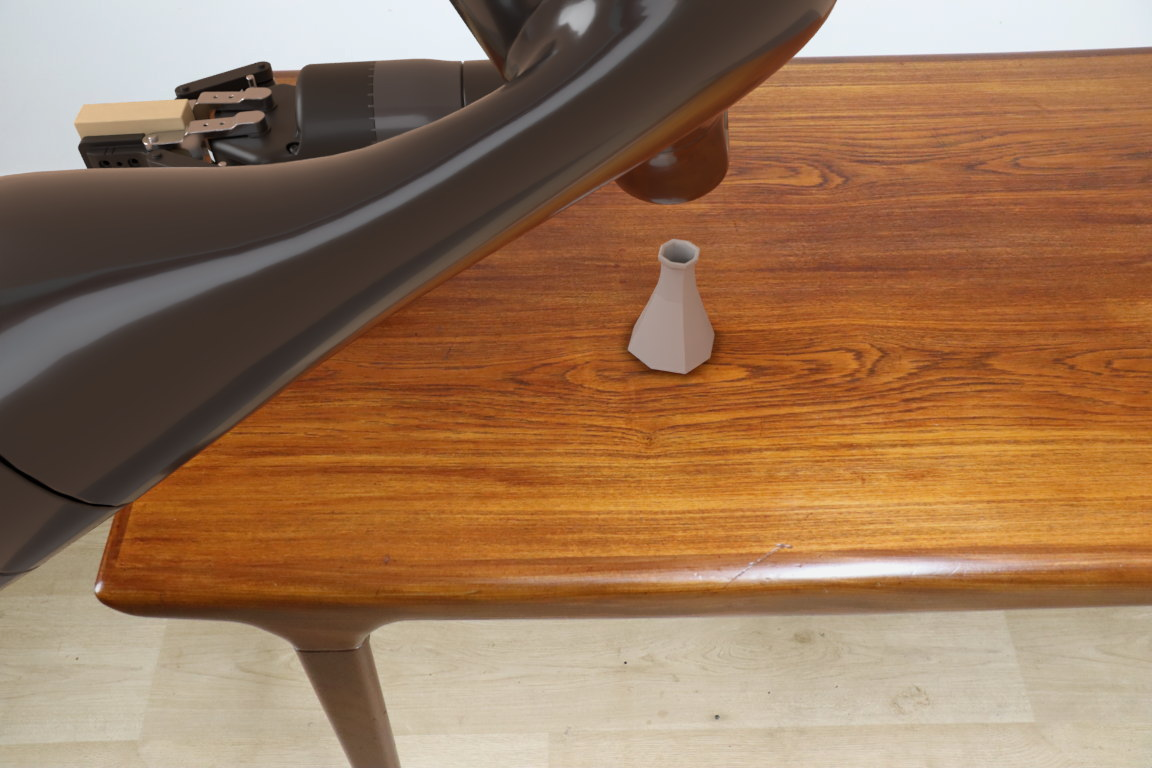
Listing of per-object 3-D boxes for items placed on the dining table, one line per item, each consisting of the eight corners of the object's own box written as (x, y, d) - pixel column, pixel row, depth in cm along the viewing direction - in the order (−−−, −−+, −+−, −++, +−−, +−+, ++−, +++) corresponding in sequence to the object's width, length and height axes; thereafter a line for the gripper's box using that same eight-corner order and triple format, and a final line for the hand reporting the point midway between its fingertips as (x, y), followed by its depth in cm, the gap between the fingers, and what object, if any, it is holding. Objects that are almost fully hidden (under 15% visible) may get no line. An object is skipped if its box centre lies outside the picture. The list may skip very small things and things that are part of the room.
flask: (690, 387, 77) (700, 294, 69) (612, 354, 79) (614, 262, 72) (728, 334, 81) (742, 241, 74) (653, 304, 84) (660, 212, 76)
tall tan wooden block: (257, 293, 65) (188, 98, 54) (252, 313, 64) (181, 116, 53) (169, 299, 65) (82, 103, 54) (162, 319, 64) (72, 122, 53)
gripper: (387, 11, 58) (97, 25, 57) (370, 136, 48) (23, 155, 48) (405, 120, 63) (141, 134, 62) (393, 252, 54) (82, 270, 53)
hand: (92, 143), depth 55 cm, fingers closed on tall tan wooden block, 2 cm apart
